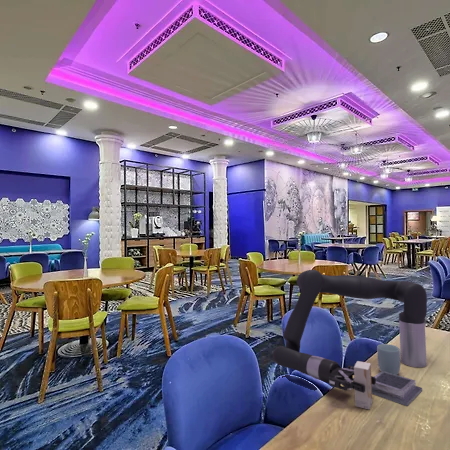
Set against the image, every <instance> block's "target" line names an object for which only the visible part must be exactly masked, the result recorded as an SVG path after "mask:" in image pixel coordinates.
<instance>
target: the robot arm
mask: <svg viewBox="0 0 450 450" xmlns="http://www.w3.org/2000/svg"><path fill="white" fill-rule="evenodd" d="M296 285H297V287H298V288H299V289H300V293H299V296H298V299H297V302H296V304H295V305H294V308H293V309H292V311H291V313H290V315H289V318H288V319H287V322H286V326H285V328H284V332H283V334H282V336H283V339H284V340H285V346H283V345H280V346H277V347H275V348H274V350H273V352H272V359H273V361H274V363H275V364H277V366H280V367H283V368H284V367H285V368H286V369H291V370H295V371H296V372H299V373H301V374H304V375H305V376H310V377H311V378H313V379H316V380H318V381H320V382H323V383H327V384H328V385H329V386H330V387H333V388H336V389H339V390H342V391H345V392H347V391H348V390H349V391H350V390H354V391H355V390H357V391H360V392H363V393H364V392H365V385H363V384H360V383H357V382H354V366H352V365H347V367H346V368H345V367H341V366H340V364H339V363H338V362H337V361H335V360H332V359H328V358H325V357H321V356H317V355H312V354H310V353H306V352H300V351H301V350H300V349H301V341H302V337H303V335H304V332H305V328H306V325H307V322H308V319H309V316H310V314H311V311H312V308H313V306H314V304H315V302H316V299H317V297H318V296H319V294H320V293H325V294H333V295H338V296H341V297H342V296H343V297H347V298H353V299H360V300H361V299H363V300H374V299H375V300H376V299H389V300H394V301H397V302H400V303H403V311H401V312H399V314H398V322H399V323H398V326H399V349H400V363H402V364H403V365H406V366H409V367H412V368H425V367H426V366H427V365H428V362H427V344H426V340H427V339H426V324H425V323H426V322H425V321H426V320H425V319H426V316H427V313H428V311H427V310H428V296H427V291H426V289H425V287H424V286H423V285H421V284H419V283H416V282H412V281H408V280H383V279H378V278H374V277H370V276H369V277H368V276H362V275H351V274H349V275H342V274H341V275H328V274H327V275H326V274H322V273H321V272H320V271H318V270H316V269H307V270H304V271H302V272H301V273H300V274H298V276H297V278H296ZM371 383H372V384H373V385H374V384H376V378H375V377H374V376H373V375H371Z"/></svg>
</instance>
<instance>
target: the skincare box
mask: <svg viewBox="0 0 450 450" xmlns="http://www.w3.org/2000/svg"><path fill="white" fill-rule="evenodd" d="M353 367H354V375H353V378H354V382H357V383H360V384H363V385H365V392H364V393H363V392H360V391H357V390H354V401H355V403H354V406H355V407H357V408H362V409H364V410H365V409H366V410H370V409H371V407H372V403H373V394H372V383H371V376H372V364H371V362H365V361H360V360H357V361H356V363H354V366H353Z"/></svg>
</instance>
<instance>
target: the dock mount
mask: <svg viewBox="0 0 450 450" xmlns="http://www.w3.org/2000/svg"><path fill="white" fill-rule="evenodd" d="M373 377H375V378H376V384H374V385H373V384H372V395H374V396H376V397H379V398H382V399H386V400H388V401H391V402H394V403H397V404H400V405H402V406H405V407H408V406H410V404H411V403H413V401H414V400H415V399H416V398H417V397H418V396H419V395H420V394H421V393H422V392H423V387H421V386H417V385H416V380H415V379H412V378H408V377H405V376H401V375H399V374H397V375H395V374H392V373H388V372H385V371H380V372H378V373H377V374H375V376H373Z"/></svg>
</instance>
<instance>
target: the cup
mask: <svg viewBox="0 0 450 450" xmlns="http://www.w3.org/2000/svg"><path fill="white" fill-rule="evenodd" d="M376 348H377V349H376V350H377V351H376V353H377V356H376V357H377V363H378V365H377V366H378V369H379V371H380V372H381V371H385V372H388V373H392V374H395V375H399V373H400V371H401V354H400V347H399V346H397V345H393V344H387V343H386V344H385V343H381V344H380V343H379V344H378V345H377V347H376Z"/></svg>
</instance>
